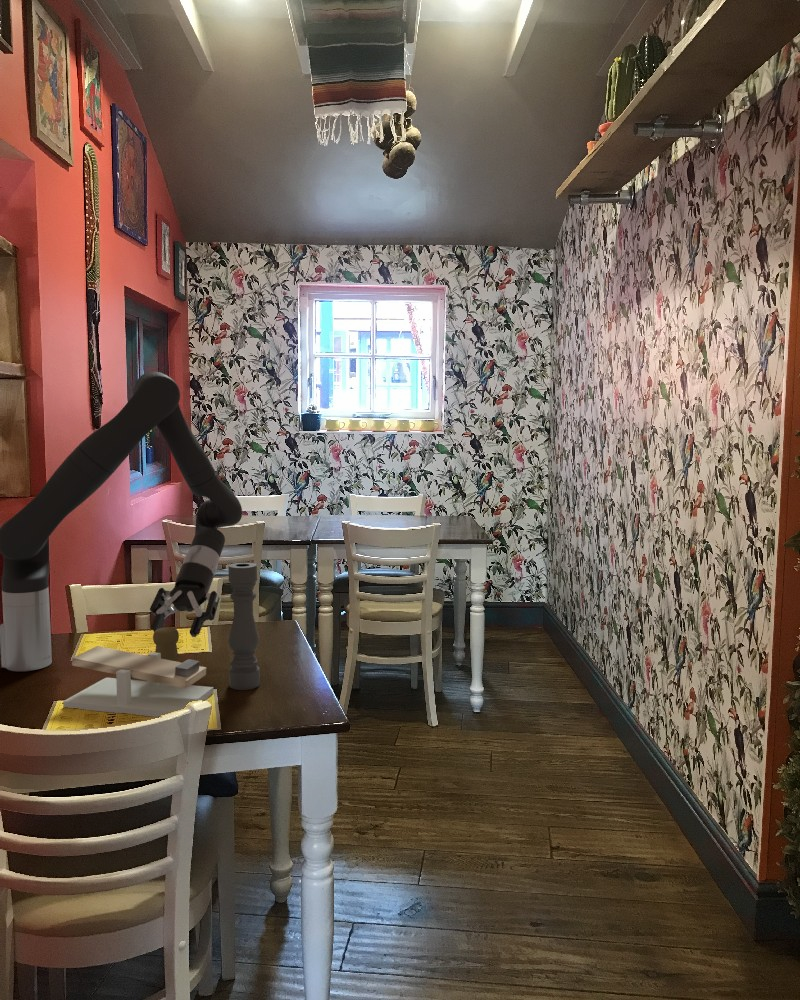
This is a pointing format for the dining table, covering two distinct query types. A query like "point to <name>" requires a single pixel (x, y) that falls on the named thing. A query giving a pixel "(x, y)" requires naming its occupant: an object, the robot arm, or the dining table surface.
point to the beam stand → (136, 695)
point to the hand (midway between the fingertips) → (174, 633)
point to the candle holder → (243, 628)
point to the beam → (141, 666)
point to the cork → (166, 643)
